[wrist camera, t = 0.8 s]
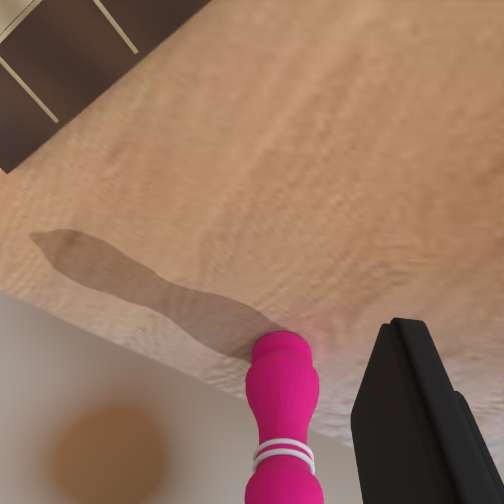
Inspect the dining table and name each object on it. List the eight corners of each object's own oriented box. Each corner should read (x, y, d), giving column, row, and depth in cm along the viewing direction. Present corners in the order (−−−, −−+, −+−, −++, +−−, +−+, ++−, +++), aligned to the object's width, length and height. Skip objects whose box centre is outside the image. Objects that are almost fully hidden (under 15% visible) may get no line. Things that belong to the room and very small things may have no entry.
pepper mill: (233, 349, 48) (210, 554, 31) (286, 315, 45) (292, 519, 28) (277, 387, 51) (278, 595, 33) (329, 356, 48) (359, 566, 31)
